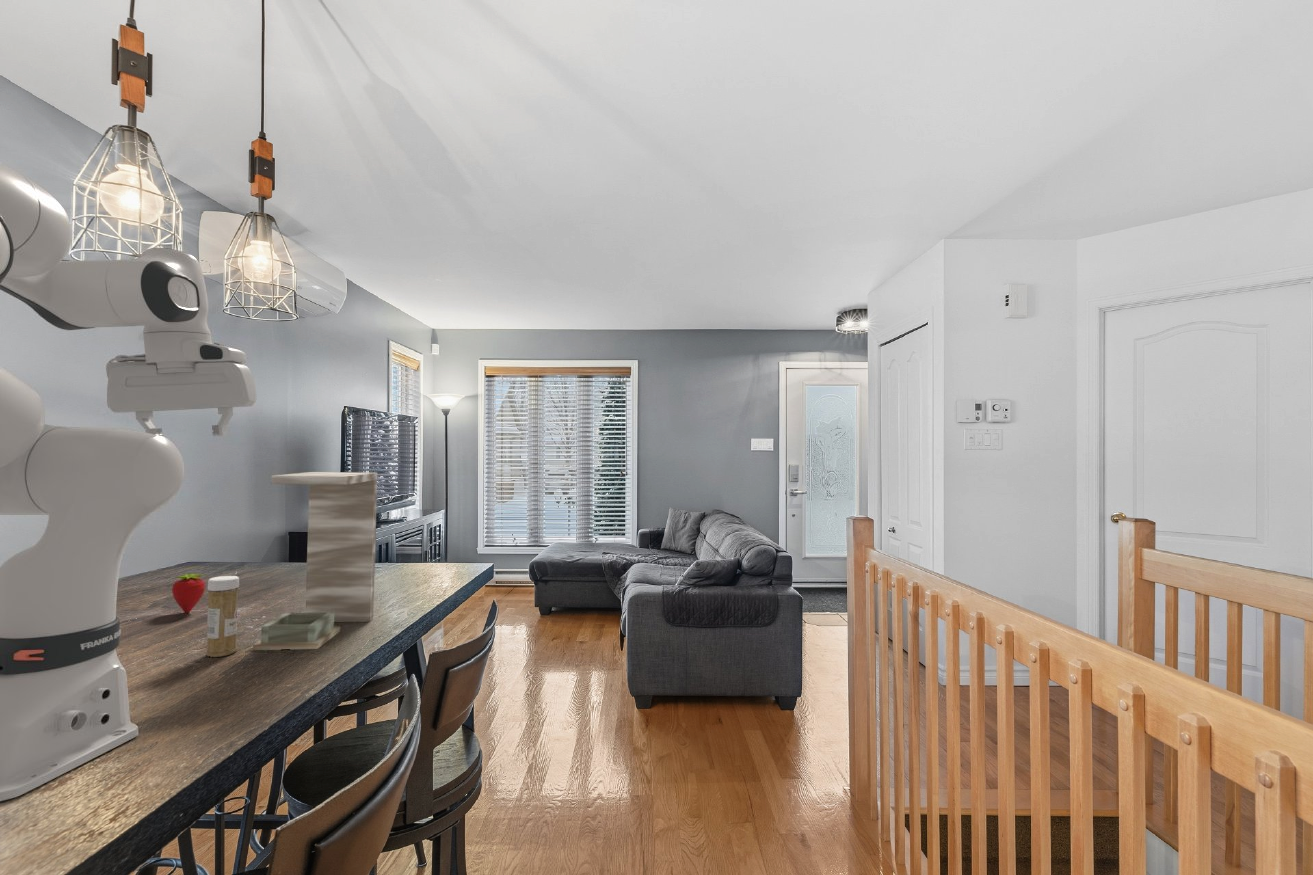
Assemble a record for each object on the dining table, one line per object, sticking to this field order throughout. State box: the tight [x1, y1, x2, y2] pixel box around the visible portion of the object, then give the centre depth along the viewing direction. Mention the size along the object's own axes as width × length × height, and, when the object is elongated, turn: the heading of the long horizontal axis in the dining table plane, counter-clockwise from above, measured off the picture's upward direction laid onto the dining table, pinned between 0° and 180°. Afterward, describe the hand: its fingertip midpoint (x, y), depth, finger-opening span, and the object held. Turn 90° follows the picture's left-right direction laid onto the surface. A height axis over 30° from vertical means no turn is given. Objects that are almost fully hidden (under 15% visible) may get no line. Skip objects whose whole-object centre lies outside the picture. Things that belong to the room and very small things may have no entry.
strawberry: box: [171, 566, 207, 614], centre depth 136 cm, size 6×8×10 cm
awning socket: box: [252, 471, 378, 651], centre depth 123 cm, size 20×14×32 cm
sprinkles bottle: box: [205, 575, 240, 658], centre depth 110 cm, size 5×5×13 cm
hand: (187, 437), depth 102 cm, fingers open, 8 cm apart
